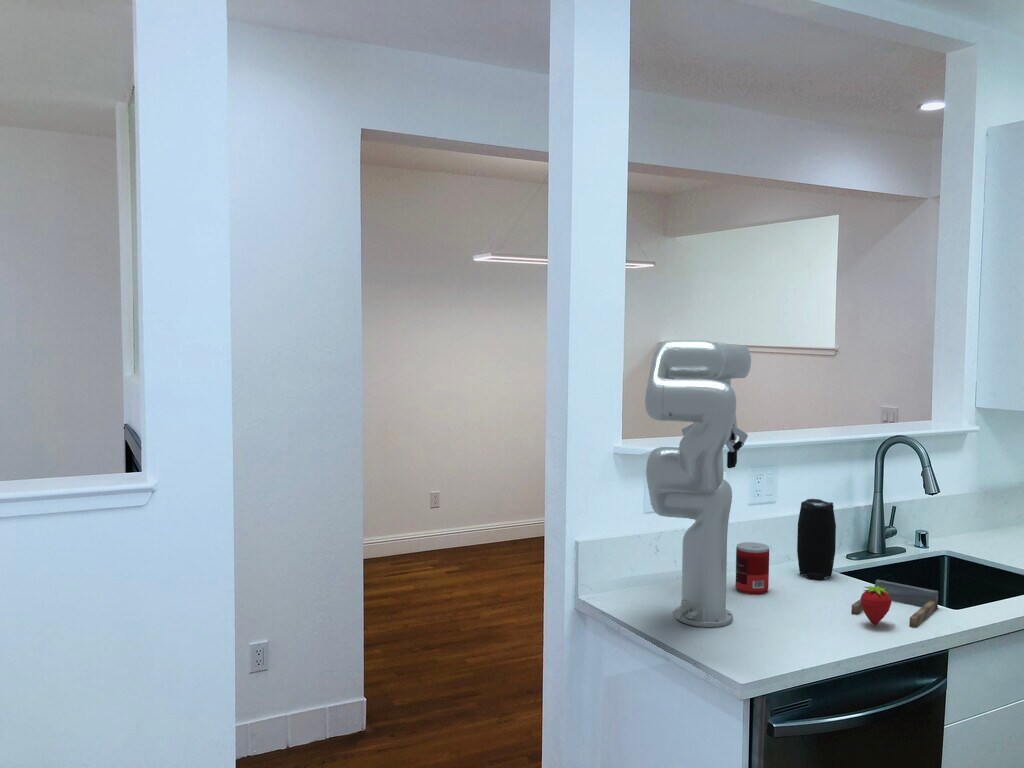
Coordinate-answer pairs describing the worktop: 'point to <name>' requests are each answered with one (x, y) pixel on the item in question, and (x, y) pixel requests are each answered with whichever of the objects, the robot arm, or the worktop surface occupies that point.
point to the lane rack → (907, 600)
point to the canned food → (752, 568)
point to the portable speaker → (816, 539)
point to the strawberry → (875, 603)
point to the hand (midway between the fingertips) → (713, 465)
